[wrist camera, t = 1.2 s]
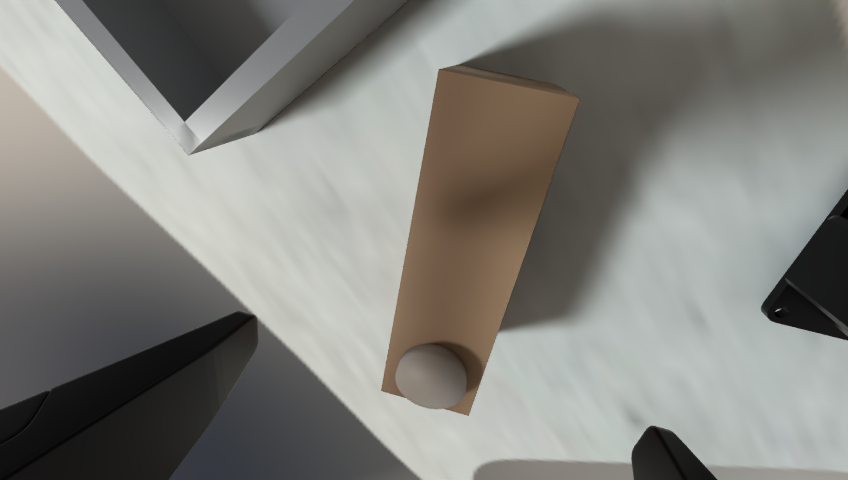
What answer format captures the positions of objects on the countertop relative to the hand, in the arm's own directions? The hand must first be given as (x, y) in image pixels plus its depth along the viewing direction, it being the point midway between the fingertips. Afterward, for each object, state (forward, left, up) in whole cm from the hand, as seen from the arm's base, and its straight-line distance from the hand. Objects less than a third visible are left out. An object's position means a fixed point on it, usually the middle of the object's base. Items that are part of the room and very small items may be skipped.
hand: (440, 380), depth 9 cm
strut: (0, 0, -9) cm, 9 cm away
